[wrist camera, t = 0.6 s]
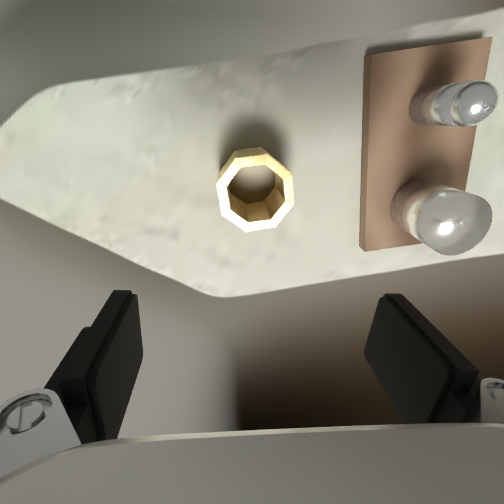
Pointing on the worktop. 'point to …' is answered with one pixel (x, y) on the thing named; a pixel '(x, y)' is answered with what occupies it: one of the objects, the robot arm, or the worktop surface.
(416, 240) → the pipe board
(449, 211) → the pair of light bulbs
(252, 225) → the brass coupling
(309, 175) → the worktop surface
